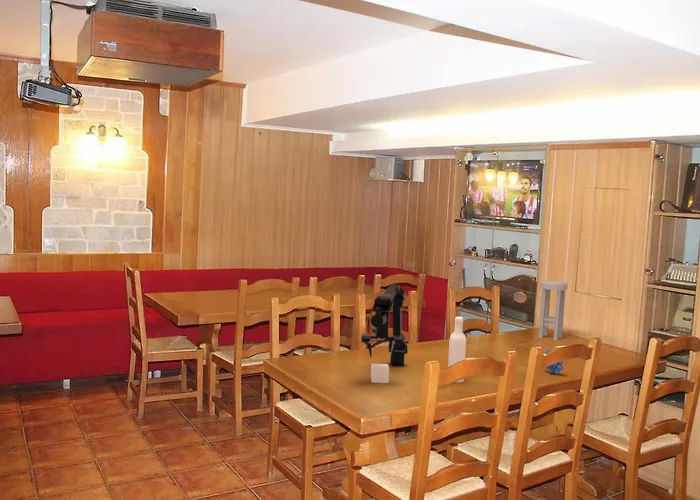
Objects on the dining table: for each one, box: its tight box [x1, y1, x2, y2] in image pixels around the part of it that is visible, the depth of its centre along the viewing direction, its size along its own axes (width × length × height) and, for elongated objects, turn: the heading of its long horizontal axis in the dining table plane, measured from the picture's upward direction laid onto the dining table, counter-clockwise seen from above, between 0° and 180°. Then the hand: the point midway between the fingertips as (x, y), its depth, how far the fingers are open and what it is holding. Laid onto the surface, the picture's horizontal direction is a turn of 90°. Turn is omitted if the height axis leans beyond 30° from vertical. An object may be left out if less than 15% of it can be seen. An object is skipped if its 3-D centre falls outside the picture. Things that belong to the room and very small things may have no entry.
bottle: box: [447, 316, 467, 384], centre depth 312 cm, size 8×8×30 cm
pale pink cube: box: [370, 363, 390, 384], centre depth 307 cm, size 8×8×7 cm
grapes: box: [543, 348, 564, 375], centre depth 332 cm, size 12×7×12 cm, turn 42°
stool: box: [538, 279, 569, 341], centre depth 416 cm, size 16×16×35 cm
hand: (381, 357), depth 304 cm, fingers open, 9 cm apart
